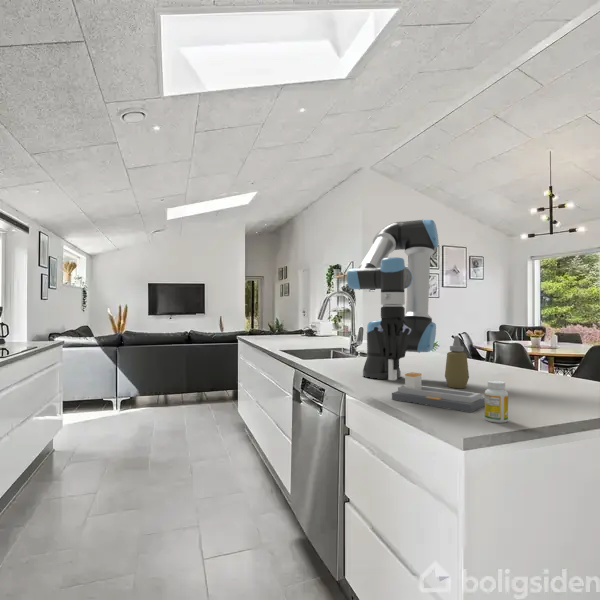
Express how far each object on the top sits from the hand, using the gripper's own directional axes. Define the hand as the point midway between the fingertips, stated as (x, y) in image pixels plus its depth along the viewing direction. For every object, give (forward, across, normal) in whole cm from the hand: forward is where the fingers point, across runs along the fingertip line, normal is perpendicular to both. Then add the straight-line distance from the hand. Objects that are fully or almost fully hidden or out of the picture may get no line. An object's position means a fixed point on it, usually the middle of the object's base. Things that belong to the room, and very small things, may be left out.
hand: (392, 379), depth 141 cm
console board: (+5, +15, 0) cm, 16 cm away
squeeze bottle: (+5, +9, +28) cm, 30 cm away
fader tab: (+3, +7, 0) cm, 8 cm away
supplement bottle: (+5, +35, -10) cm, 37 cm away
